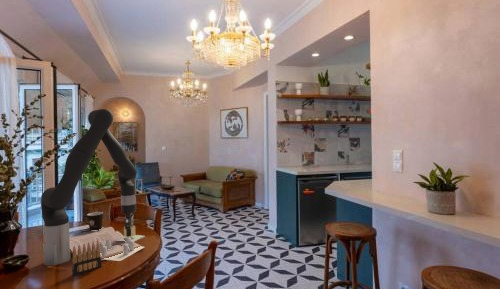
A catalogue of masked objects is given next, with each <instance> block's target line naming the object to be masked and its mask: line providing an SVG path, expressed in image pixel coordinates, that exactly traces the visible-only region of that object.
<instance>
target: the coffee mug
mask: <svg viewBox="0 0 500 289" xmlns="http://www.w3.org/2000/svg"><path fill="white" fill-rule="evenodd" d="M85 217H86V218H87V221H88V222H87V221H85ZM103 217H104V212H103V211H95V212H91V213H90V212H89V213H87V214H86V215H84V216H83V218H82V220H83V222H84V224H87V225H88V227H89V228H88V229H89V231H90V230H99V229H101V228H102V229H103V220H104V218H103Z"/></svg>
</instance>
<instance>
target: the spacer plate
mask: <svg viewBox="0 0 500 289" xmlns="http://www.w3.org/2000/svg"><path fill="white" fill-rule="evenodd" d="M99 245H100V253H102V256H103V257H105V256H107V249H111V246H112V239H106V240H105V243H103V242H102V243H99ZM122 245H123V253H121V254H118V255H115V256H112V257H109V258H104V259H103V261H104V260H106V261H115V262H116V261H117V262H121V261H123V260H125V259H126V258H129V257H130V256H132V255H134V254H135V253H137V252H138V251H141V250H142V249H144V248H145V246H142V245H141V246H140V247H138V248H135V249H134V246H135V242H134V240H131V238H127V239H126V242H125V244H122ZM128 247H129V251H128Z"/></svg>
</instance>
